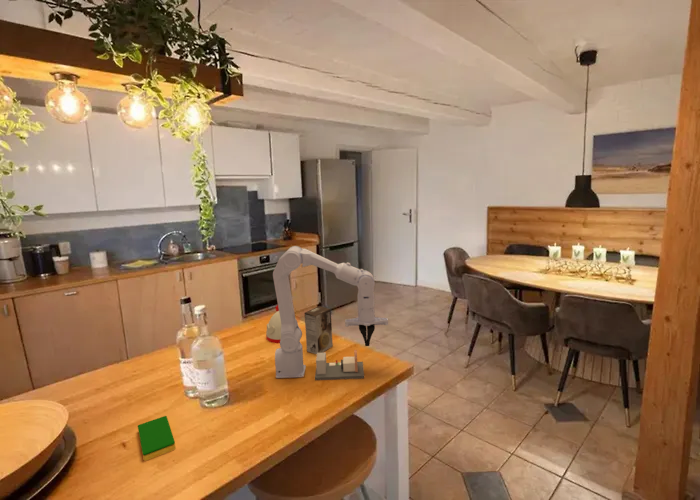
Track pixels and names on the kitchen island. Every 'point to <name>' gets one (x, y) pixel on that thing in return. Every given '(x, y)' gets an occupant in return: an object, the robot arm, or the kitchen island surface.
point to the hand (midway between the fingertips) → (367, 344)
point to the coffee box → (318, 329)
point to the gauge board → (335, 370)
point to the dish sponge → (156, 438)
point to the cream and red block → (349, 363)
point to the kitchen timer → (274, 328)
